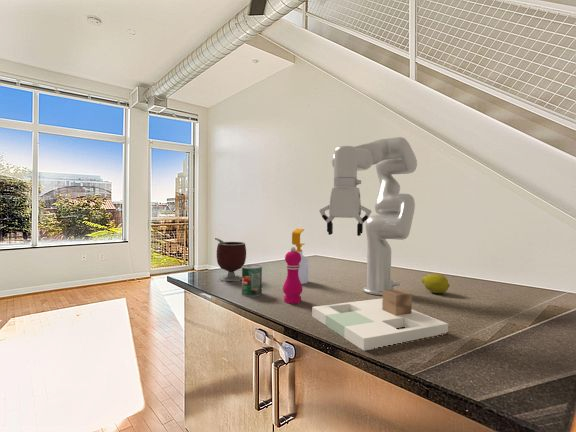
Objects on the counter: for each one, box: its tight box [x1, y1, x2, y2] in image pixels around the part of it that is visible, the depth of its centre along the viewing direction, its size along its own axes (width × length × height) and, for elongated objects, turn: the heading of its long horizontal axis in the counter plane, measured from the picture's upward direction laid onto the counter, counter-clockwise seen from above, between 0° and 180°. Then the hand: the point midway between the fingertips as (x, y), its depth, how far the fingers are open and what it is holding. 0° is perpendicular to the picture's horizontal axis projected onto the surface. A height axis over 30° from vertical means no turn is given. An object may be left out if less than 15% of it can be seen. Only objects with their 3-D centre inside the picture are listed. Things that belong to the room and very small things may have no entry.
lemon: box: [421, 273, 451, 295], centre depth 135 cm, size 11×8×8 cm
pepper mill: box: [282, 246, 303, 305], centre depth 121 cm, size 7×7×20 cm
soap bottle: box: [291, 228, 310, 285], centre depth 151 cm, size 9×9×25 cm
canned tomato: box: [241, 264, 263, 297], centre depth 130 cm, size 8×8×11 cm
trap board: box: [311, 297, 449, 351], centre depth 97 cm, size 28×27×3 cm
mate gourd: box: [214, 237, 247, 282], centre depth 156 cm, size 16×14×20 cm
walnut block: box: [382, 288, 413, 316], centre depth 100 cm, size 6×6×6 cm
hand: (344, 234), depth 111 cm, fingers open, 9 cm apart
